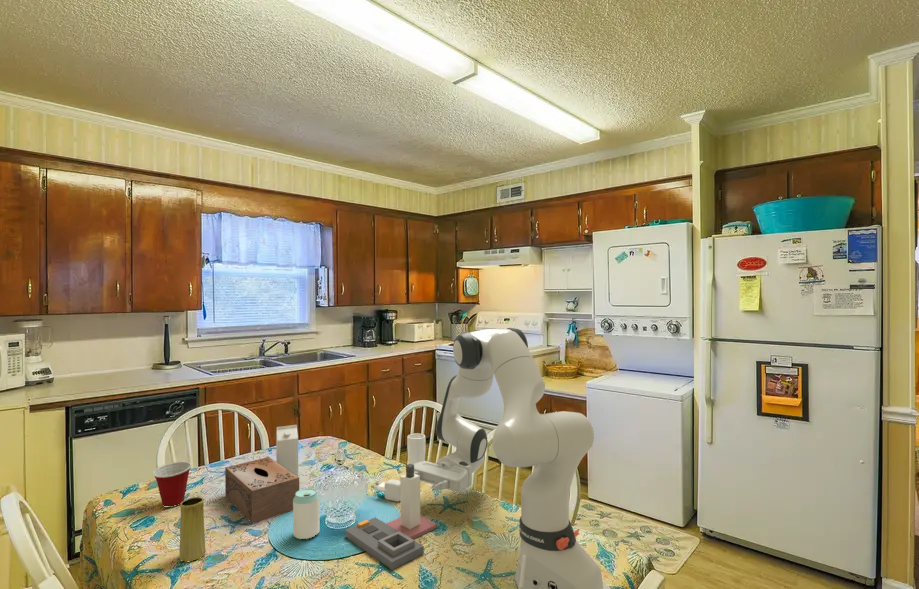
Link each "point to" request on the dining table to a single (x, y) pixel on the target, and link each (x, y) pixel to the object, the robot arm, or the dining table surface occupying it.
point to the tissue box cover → (261, 488)
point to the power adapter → (390, 489)
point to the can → (306, 514)
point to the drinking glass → (416, 448)
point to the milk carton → (287, 448)
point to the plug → (410, 498)
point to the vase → (192, 529)
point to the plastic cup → (172, 482)
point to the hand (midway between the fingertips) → (422, 484)
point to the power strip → (384, 542)
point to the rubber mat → (416, 531)
